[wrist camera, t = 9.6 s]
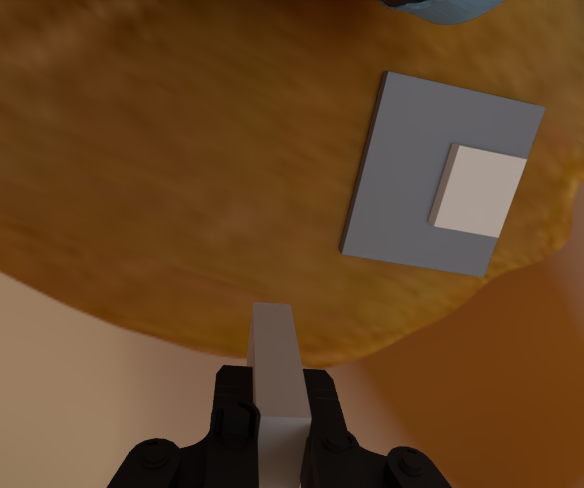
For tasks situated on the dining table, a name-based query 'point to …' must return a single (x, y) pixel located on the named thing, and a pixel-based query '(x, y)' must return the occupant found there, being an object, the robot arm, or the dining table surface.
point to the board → (427, 170)
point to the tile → (476, 190)
